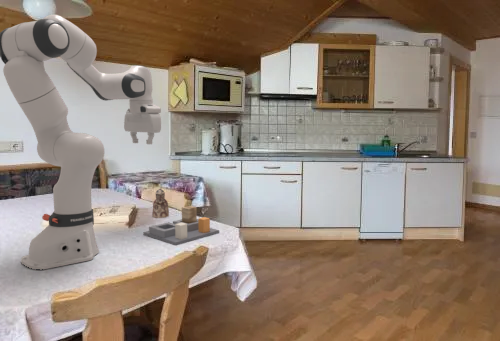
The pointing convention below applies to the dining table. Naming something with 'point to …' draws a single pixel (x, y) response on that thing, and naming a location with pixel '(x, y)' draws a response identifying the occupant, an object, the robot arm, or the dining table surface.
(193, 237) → the socket board
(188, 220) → the wood plug
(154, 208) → the figurine
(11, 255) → the dining table surface
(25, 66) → the robot arm
